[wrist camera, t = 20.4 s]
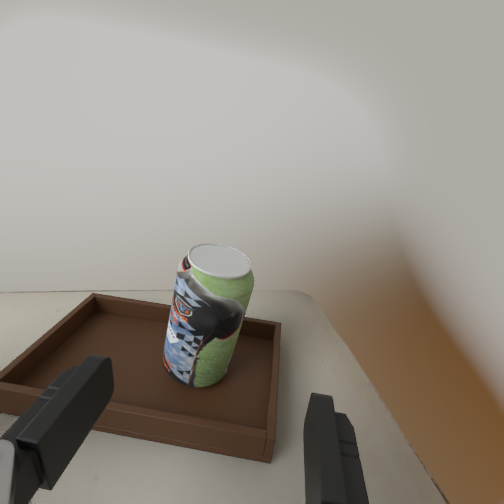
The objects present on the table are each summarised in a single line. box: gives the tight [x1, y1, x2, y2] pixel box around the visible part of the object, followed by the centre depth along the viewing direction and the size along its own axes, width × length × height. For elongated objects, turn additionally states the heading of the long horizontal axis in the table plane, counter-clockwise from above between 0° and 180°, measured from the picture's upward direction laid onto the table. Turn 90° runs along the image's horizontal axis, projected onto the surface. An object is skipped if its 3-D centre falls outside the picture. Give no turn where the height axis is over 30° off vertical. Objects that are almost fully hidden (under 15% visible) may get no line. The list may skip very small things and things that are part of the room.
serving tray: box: [0, 293, 281, 463], centre depth 28 cm, size 21×13×3 cm, turn 83°
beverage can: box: [162, 243, 254, 387], centre depth 26 cm, size 6×7×12 cm
